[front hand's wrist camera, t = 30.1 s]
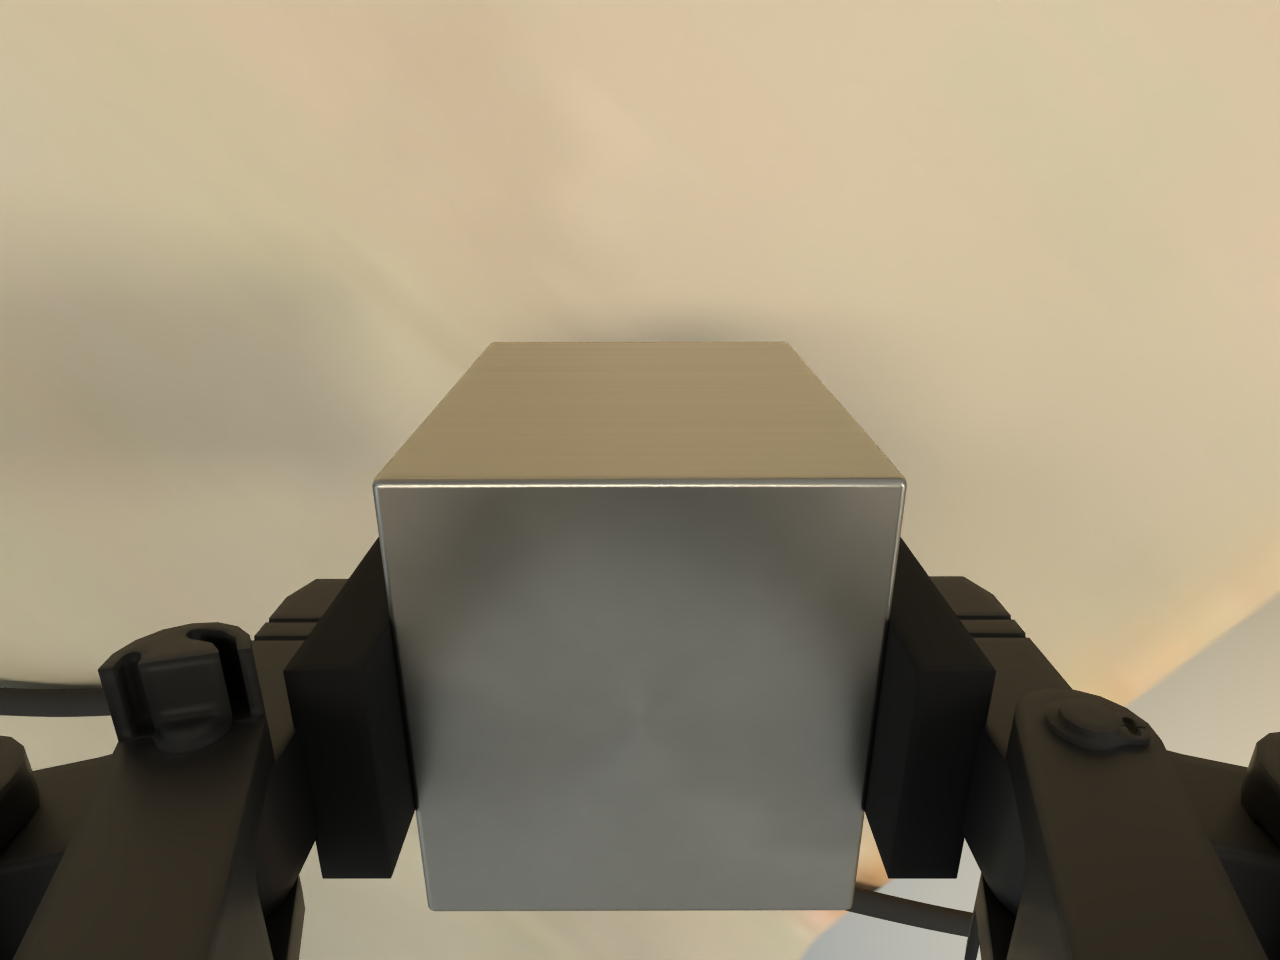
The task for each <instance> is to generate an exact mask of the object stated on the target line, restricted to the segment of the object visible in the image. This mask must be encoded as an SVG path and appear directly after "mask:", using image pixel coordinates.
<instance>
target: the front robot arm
mask: <svg viewBox="0 0 1280 960" xmlns="http://www.w3.org/2000/svg"><path fill="white" fill-rule="evenodd" d="M98 672H99V676H100V679H101V683H102V686H103V689H86V690H45V689H18V688H0V715H9V716H38V717H81V716H107V715H111V717H112V720H113V724H114V727H115V731H116V734H117V737H118V741H119V742H118V744H117V746H116V748H115V750H114V752H113V754H110V755H107V756H103V757H99V758H94V759H89V760H85V761H80V762H75V763H70V764H65V765H60V766H55V767H50V768H45V769H40V770H35V771H32V769H31V766H30V763H29V760H28V757H27V755H26V752H25V749H24V746H23V745H21V744H20V743H19V742H17V741H16V740H15V739H13V738H12V737H7V736H0V960H299V954H300V945H301V937H302V929H303V921H304V913H305V905H304V898H303V891H302V887H301V882H300V877H299V873H300V871H301V869H302V867H303V865H304V863H305V861H306V859H307V857H308V855H309V852H310V850H311V848H312V846H313V844H314V842H315V841H316V846H317V851H318V856H319V861H320V867H321V872H322V877H323V878H391V877H392V874H393V871H394V868H395V865H396V863H397V860H398V857H399V854H400V851H401V848H402V846H403V843H404V840H405V837H406V834H407V831H408V829H409V826H410V823H411V820H412V817H413V814H414V811H415V802H414V795H413V787H412V780H411V772H410V765H409V757H408V750H407V742H406V735H405V727H404V719H403V712H402V704H401V697H400V689H399V682H398V674H397V667H396V659H395V652H394V644H393V636H392V629H391V621H390V615H389V607H388V600H387V592H386V585H385V577H384V569H383V562H382V554H381V547H380V539H379V537H378V539H377V540H376V541H375V543H374V544H373V546H372V547H371V548H370V550H369V551H368V553H367V554H366V555H365V557H364V558H363V560H362V561H361V562H360V564H359V565H358V567H357V568H356V569H355V571H354V572H353V574H352V575H351V576H350V578H349V579H316V580H314V581H312V582H311V583H309V584H308V585H306V586H304V587H303V588H301V589H299V590H298V591H296V592H295V593H293V594H291V595H290V596H288V597H287V598H286V599H285V600H284V601H283V602H282V604H281V605H280V606H279V607H278V608H277V610H276V611H275V612H274V613H273V614H272V616H271V617H270V618H269V623H265V624H264V625H263V626H262V628H261V629H260V630H259V631H258V633H257V634H256V635H255V639H254V641H251V639H250V635H249V634H247V633H246V632H245V631H243V630H242V629H241V628H239V627H238V626H233V625H228V624H223V623H218V622H215V623H192V624H187V625H183V626H178V627H173V628H169V629H164V630H161V631H158V632H156V633H153V634H151V635H148V636H145V637H143V638H140V639H138V640H135V641H134V642H132V643H130V644H129V645H127V646H125V647H124V648H122V649H120V650H119V651H117V652H115V653H114V654H112V655H111V656H110V657H109V658H108V659H107V660H106V662H105V663H104V664H103V665H102V666H101V667H100V668H99V669H98ZM865 813H866V816H867V819H868V822H869V825H870V827H871V830H872V833H873V836H874V839H875V842H876V844H877V847H878V850H879V853H880V856H881V859H882V862H883V864H884V867H885V870H886V873H887V876H888V878H957V874H958V869H959V863H960V858H961V853H962V848H963V842H964V837H965V839H966V841H967V843H968V846H969V848H970V850H971V852H972V854H973V856H974V858H975V860H976V862H977V864H978V866H979V868H980V870H981V877H980V882H979V887H978V891H977V896H976V901H975V906H974V911H973V913H971V912H966V911H960V910H955V909H950V908H945V907H940V906H935V905H930V904H926V903H921V902H917V901H912V900H908V899H903V898H899V897H895V896H890V895H886V894H882V893H878V892H873V891H869V890H865V889H861V888H857V887H855V889H854V897H853V904H852V907H851V908H850V909H848V910H846V911H850V912H854V913H858V914H863V915H867V916H871V917H875V918H880V919H884V920H888V921H893V922H897V923H902V924H906V925H911V926H915V927H920V928H925V929H930V930H935V931H939V932H945V933H950V934H955V935H960V936H966V937H968V940H967V946H966V953H965V960H976V958H977V953H978V948H979V945H980V952H981V960H1280V732H1276V733H1269V734H1268V735H1266V736H1265V737H1264V738H1262V739H1261V740H1260V741H1258V742H1257V743H1256V746H1255V749H1254V752H1253V755H1252V758H1251V761H1250V764H1249V767H1242V766H1238V765H1233V764H1228V763H1223V762H1218V761H1213V760H1208V759H1203V758H1198V757H1193V756H1188V755H1183V754H1179V753H1175V752H1171V751H1168V750H1166V748H1165V746H1164V744H1163V742H1162V740H1161V739H1160V738H1159V737H1158V735H1157V734H1156V733H1155V731H1154V730H1153V729H1152V728H1151V726H1150V725H1149V724H1148V723H1147V722H1145V721H1144V720H1143V719H1141V718H1140V717H1138V716H1137V715H1135V714H1134V713H1133V712H1131V711H1130V710H1128V709H1127V708H1125V707H1123V706H1121V705H1118V704H1116V703H1114V702H1112V701H1109V700H1107V699H1105V698H1103V697H1100V696H1097V695H1093V694H1089V693H1085V692H1081V691H1077V690H1073V689H1072V688H1071V687H1070V686H1069V685H1068V684H1067V682H1066V681H1065V680H1064V679H1063V678H1062V676H1061V675H1060V674H1059V673H1058V672H1057V670H1056V669H1055V668H1054V667H1053V666H1052V664H1051V663H1050V662H1049V661H1048V660H1047V658H1046V657H1045V656H1044V655H1043V654H1042V652H1041V651H1040V650H1039V649H1038V648H1037V647H1036V645H1035V644H1034V643H1033V642H1032V641H1031V639H1030V638H1026V637H1025V632H1024V631H1023V630H1022V629H1021V627H1020V626H1019V625H1018V624H1017V623H1016V621H1015V620H1011V615H1010V614H1009V613H1008V612H1007V611H1006V609H1005V608H1004V607H1003V606H1002V605H1001V603H1000V602H999V601H998V600H997V599H996V598H995V596H994V595H993V594H991V593H990V592H988V591H986V590H985V589H983V588H981V587H980V586H978V585H977V584H975V583H973V582H972V581H970V580H968V579H967V578H965V577H963V576H928V575H927V573H926V572H925V570H924V569H923V568H922V566H921V565H920V563H919V562H918V561H917V559H916V558H915V556H914V555H913V554H912V552H911V551H910V549H909V548H908V547H907V545H906V544H905V542H904V541H903V540H902V538H901V537H900V542H899V550H898V558H897V565H896V573H895V581H894V589H893V596H892V604H891V612H890V618H889V626H888V633H887V641H886V649H885V657H884V664H883V672H882V680H881V687H880V695H879V703H878V711H877V718H876V726H875V734H874V741H873V749H872V757H871V765H870V772H869V780H868V788H867V795H866V803H865Z"/></svg>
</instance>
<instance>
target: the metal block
mask: <svg viewBox="0 0 1280 960" xmlns="http://www.w3.org/2000/svg"><path fill="white" fill-rule="evenodd" d="M372 487H373V494H374V502H375V509H376V517H377V524H378V532H379V539H380V547H381V554H382V562H383V569H384V577H385V585H386V592H387V600H388V607H389V615H390V621H391V629H392V636H393V644H394V652H395V659H396V667H397V674H398V682H399V689H400V697H401V704H402V712H403V719H404V727H405V735H406V742H407V750H408V757H409V765H410V772H411V780H412V787H413V795H414V802H415V810H416V818H417V825H418V833H419V840H420V848H421V856H422V863H423V871H424V878H425V886H426V893H427V901H428V906H429V908H430V910H433V911H671V910H848V909H850V908H851V907H852V904H853V897H854V889H855V882H856V874H857V866H858V859H859V851H860V843H861V835H862V828H863V820H864V812H865V803H866V795H867V788H868V780H869V772H870V765H871V757H872V749H873V741H874V734H875V726H876V718H877V711H878V703H879V695H880V687H881V680H882V672H883V664H884V657H885V649H886V641H887V633H888V626H889V618H890V612H891V604H892V596H893V589H894V581H895V573H896V565H897V558H898V550H899V542H900V535H901V527H902V519H903V511H904V504H905V496H906V488H907V482H906V479H905V477H904V476H903V475H902V474H901V473H900V472H899V470H898V469H897V468H896V467H895V466H894V465H893V463H892V462H891V461H890V460H889V459H888V458H887V457H886V455H885V454H884V453H883V452H882V451H881V450H880V449H879V447H878V446H877V445H876V444H875V443H874V442H873V441H872V439H871V438H870V437H869V436H868V435H867V434H866V432H865V431H864V430H863V429H862V428H861V427H860V426H859V424H858V423H857V422H856V421H855V420H854V419H853V418H852V416H851V415H850V414H849V413H848V412H847V411H846V410H845V408H844V407H843V406H842V405H841V404H840V403H839V401H838V400H837V399H836V398H835V397H834V396H833V395H832V393H831V392H830V391H829V390H828V389H827V388H826V387H825V385H824V384H823V383H822V382H821V381H820V380H819V378H818V377H817V376H816V375H815V374H814V373H813V372H812V370H811V369H810V368H809V367H808V366H807V365H806V364H805V362H804V361H803V360H802V359H801V358H800V357H799V356H798V354H797V353H796V352H795V351H794V350H793V349H792V347H791V346H790V345H789V344H788V343H786V342H494V343H491V344H490V345H489V346H488V347H487V349H486V350H485V351H484V352H483V353H482V354H481V356H480V357H479V358H478V359H477V360H476V361H475V362H474V364H473V365H472V366H471V367H470V368H469V369H468V371H467V372H466V373H465V374H464V375H463V376H462V378H461V379H460V380H459V381H458V382H457V383H456V385H455V386H454V387H453V388H452V389H451V390H450V392H449V393H448V394H447V395H446V396H445V397H444V398H443V400H442V401H441V402H440V403H439V404H438V405H437V407H436V408H435V409H434V410H433V411H432V412H431V414H430V415H429V416H428V417H427V418H426V419H425V421H424V422H423V423H422V424H421V425H420V426H419V428H418V429H417V430H416V431H415V432H414V433H413V434H412V436H411V437H410V438H409V439H408V440H407V441H406V443H405V444H404V445H403V446H402V447H401V448H400V450H399V451H398V452H397V453H396V454H395V455H394V457H393V458H392V459H391V460H390V461H389V462H388V463H387V465H386V466H385V467H384V468H383V469H382V470H381V472H380V473H379V474H378V475H377V476H376V477H375V479H374V481H373V484H372Z"/></svg>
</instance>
